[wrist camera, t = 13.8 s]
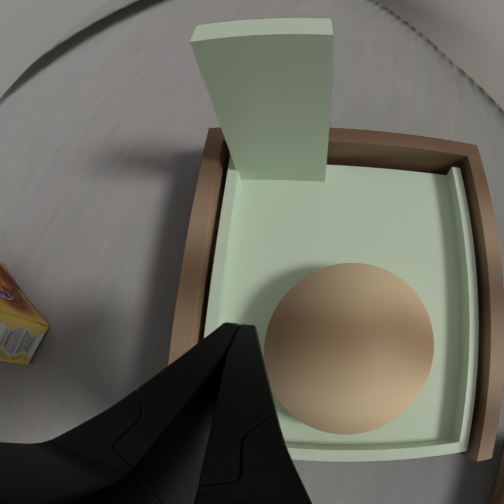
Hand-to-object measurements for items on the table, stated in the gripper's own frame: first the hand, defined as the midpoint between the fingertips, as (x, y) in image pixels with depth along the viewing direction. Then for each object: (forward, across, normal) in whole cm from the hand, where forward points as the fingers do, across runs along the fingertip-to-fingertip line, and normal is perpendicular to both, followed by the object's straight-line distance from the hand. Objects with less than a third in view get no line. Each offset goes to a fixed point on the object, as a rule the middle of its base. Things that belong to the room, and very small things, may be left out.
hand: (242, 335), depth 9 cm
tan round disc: (+5, -4, +5) cm, 8 cm away
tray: (+8, -4, +4) cm, 10 cm away
